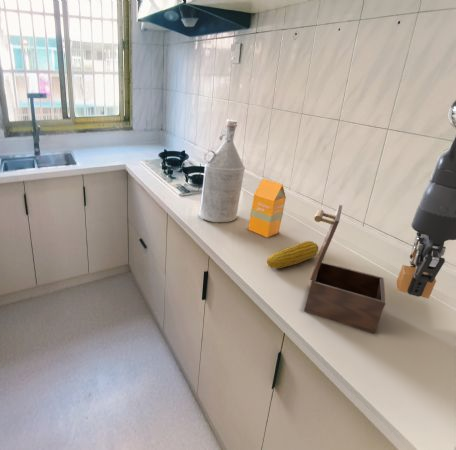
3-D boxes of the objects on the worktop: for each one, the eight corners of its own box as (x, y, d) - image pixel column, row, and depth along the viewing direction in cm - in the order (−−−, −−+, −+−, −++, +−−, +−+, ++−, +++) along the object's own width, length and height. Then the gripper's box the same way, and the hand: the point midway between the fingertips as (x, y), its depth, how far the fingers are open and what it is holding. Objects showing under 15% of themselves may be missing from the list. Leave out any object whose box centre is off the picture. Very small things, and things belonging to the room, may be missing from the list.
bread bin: (373, 305, 90) (383, 277, 86) (373, 333, 80) (385, 303, 76) (310, 287, 97) (317, 260, 93) (303, 310, 86) (311, 281, 83)
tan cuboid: (425, 288, 68) (433, 271, 66) (428, 298, 65) (436, 281, 63) (396, 281, 70) (402, 264, 68) (397, 290, 67) (404, 273, 65)
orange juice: (259, 224, 137) (268, 177, 129) (279, 232, 130) (289, 182, 122) (247, 229, 132) (255, 180, 124) (267, 237, 126) (276, 186, 118)
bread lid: (342, 205, 85) (321, 199, 87) (339, 221, 75) (315, 214, 77) (319, 259, 93) (300, 252, 95) (313, 281, 83) (292, 273, 85)
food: (304, 252, 116) (308, 236, 114) (318, 259, 112) (323, 243, 109) (261, 266, 106) (264, 250, 104) (275, 275, 102) (279, 258, 99)
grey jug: (192, 213, 145) (200, 117, 129) (227, 210, 151) (240, 117, 135) (205, 225, 134) (216, 121, 118) (243, 221, 140) (258, 121, 124)
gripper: (482, 226, 53) (442, 314, 60) (462, 201, 64) (430, 278, 71) (424, 216, 56) (392, 301, 63) (414, 194, 68) (388, 268, 75)
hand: (412, 288), depth 67 cm, fingers closed on tan cuboid, 4 cm apart
